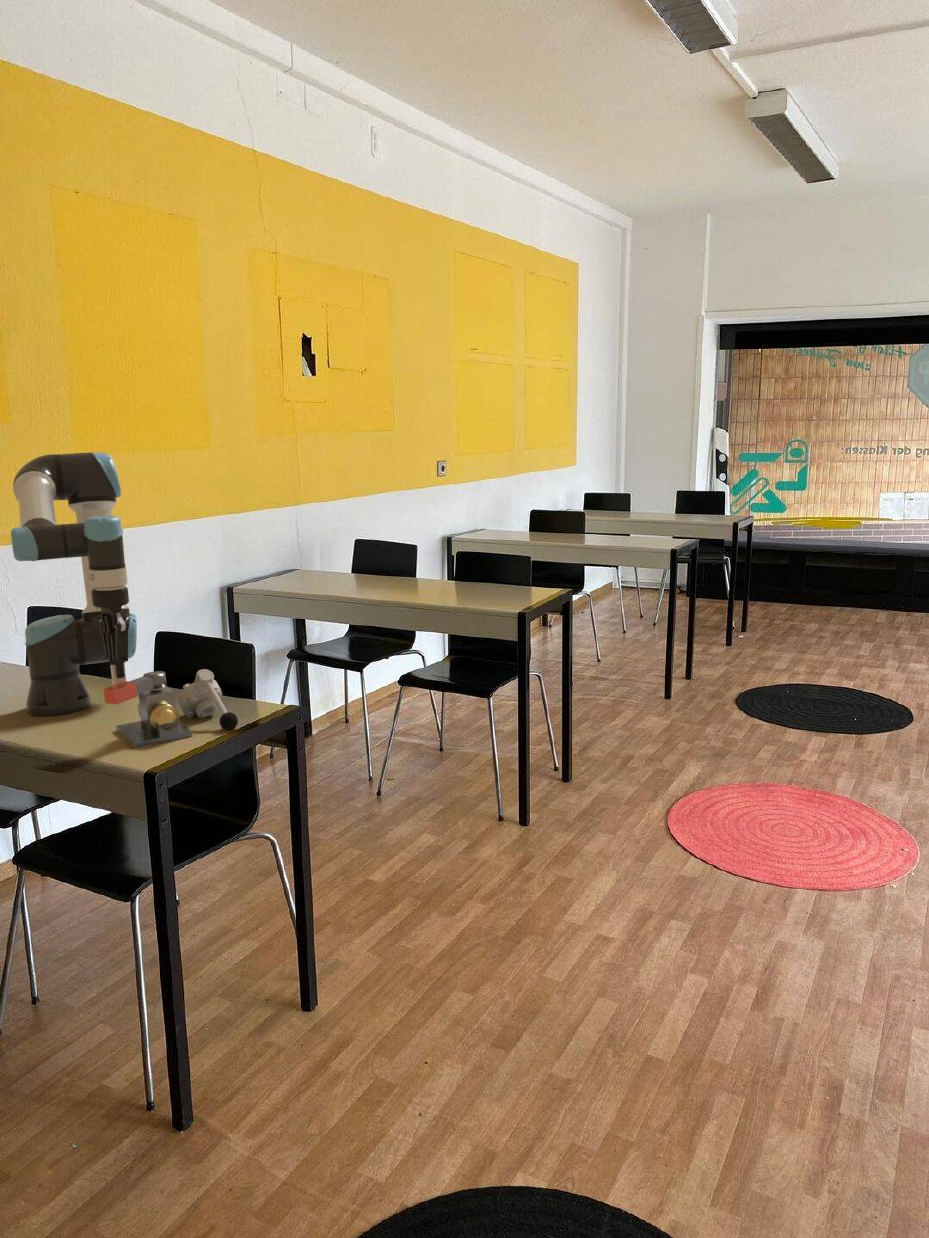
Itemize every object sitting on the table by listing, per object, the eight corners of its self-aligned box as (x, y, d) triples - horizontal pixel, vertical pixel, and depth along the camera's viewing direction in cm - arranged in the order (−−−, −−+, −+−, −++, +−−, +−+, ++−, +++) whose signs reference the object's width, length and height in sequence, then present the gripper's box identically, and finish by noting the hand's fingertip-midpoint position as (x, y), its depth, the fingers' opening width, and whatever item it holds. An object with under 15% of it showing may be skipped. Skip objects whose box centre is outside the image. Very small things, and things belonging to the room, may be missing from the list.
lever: (102, 702, 205) (100, 688, 204) (154, 683, 219) (153, 670, 219) (119, 704, 203) (117, 690, 202) (170, 685, 217) (169, 671, 217)
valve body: (116, 730, 221) (111, 685, 218) (171, 719, 228) (167, 675, 225) (134, 748, 207) (128, 700, 205) (192, 736, 214) (187, 689, 212)
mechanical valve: (212, 695, 237) (221, 659, 227) (243, 751, 229) (254, 716, 219) (173, 707, 231) (180, 670, 221) (203, 765, 223) (213, 729, 213)
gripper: (81, 586, 207) (93, 688, 212) (102, 593, 197) (113, 700, 202) (115, 581, 212) (126, 682, 217) (137, 588, 202) (147, 693, 207)
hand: (120, 691), depth 209 cm, fingers closed
